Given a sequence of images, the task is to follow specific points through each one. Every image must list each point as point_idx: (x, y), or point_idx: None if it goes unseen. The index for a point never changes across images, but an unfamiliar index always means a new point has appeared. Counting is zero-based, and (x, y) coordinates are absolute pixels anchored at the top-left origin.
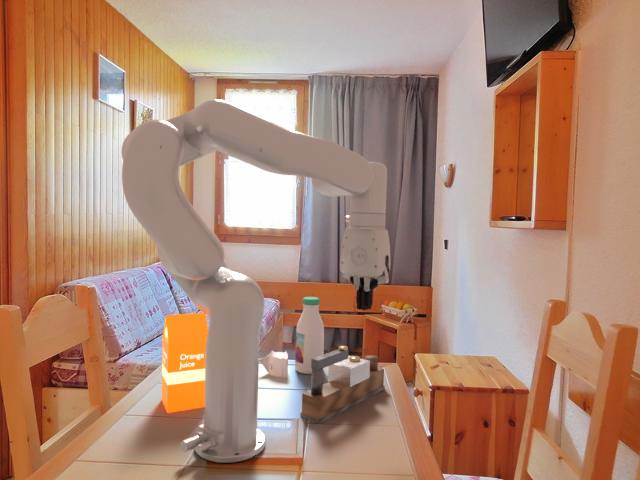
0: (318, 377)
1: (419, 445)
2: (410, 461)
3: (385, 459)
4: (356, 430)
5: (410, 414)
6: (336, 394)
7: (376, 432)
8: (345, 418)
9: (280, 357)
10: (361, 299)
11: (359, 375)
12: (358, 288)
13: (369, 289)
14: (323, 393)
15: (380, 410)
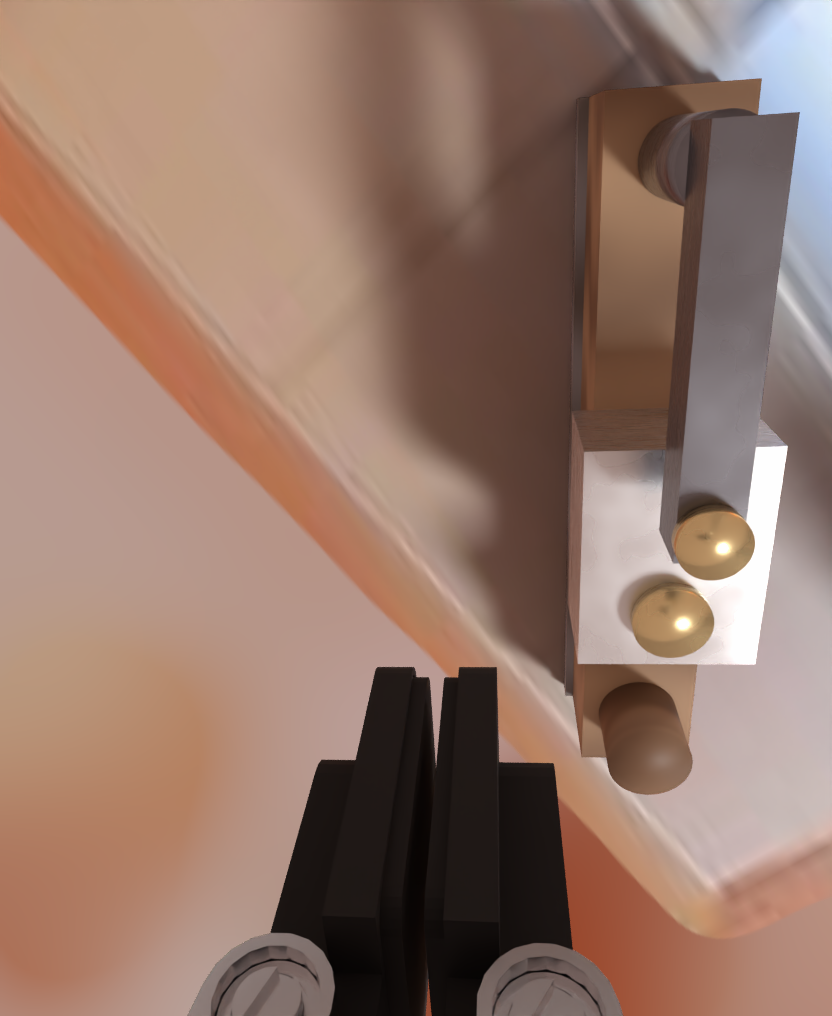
0: (675, 132)
1: (96, 283)
2: (22, 115)
3: (98, 35)
4: (383, 191)
5: (311, 525)
6: (595, 292)
7: (301, 249)
8: (510, 267)
9: None
10: (405, 781)
11: (574, 524)
12: (490, 986)
13: (213, 1002)
14: (642, 198)
15: (435, 470)
